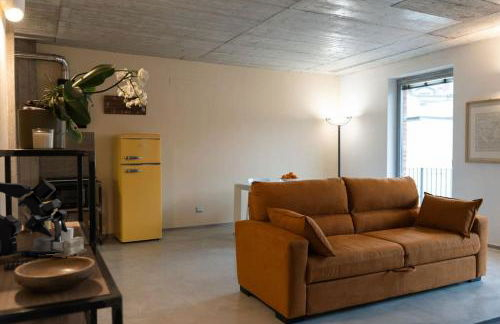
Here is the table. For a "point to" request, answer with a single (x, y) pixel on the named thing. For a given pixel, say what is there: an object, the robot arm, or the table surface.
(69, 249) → the base
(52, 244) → the dark knobbed lever handle
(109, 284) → the table surface
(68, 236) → the shot glass
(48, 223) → the candy box
